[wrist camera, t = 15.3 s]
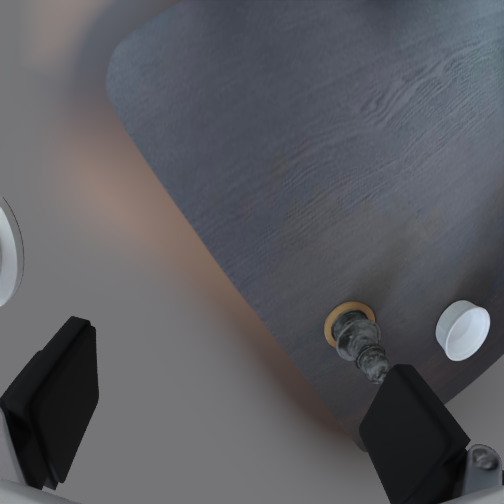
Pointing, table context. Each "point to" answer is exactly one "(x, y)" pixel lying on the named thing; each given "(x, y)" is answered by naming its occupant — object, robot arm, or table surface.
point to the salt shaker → (361, 343)
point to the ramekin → (462, 329)
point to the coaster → (339, 310)
